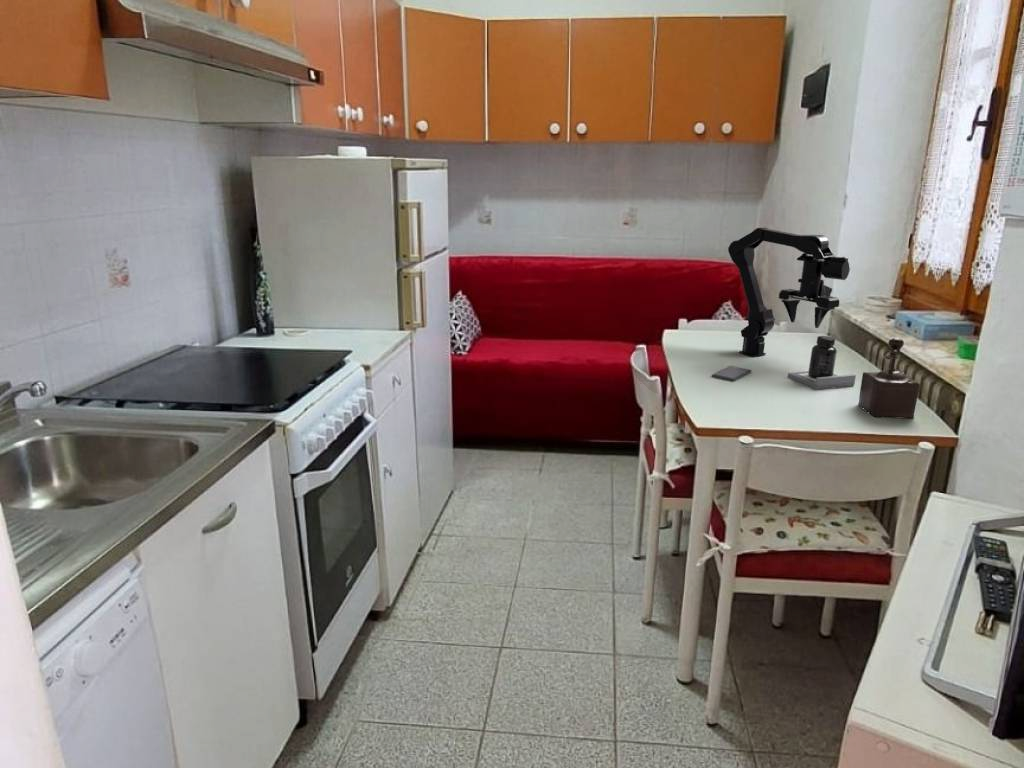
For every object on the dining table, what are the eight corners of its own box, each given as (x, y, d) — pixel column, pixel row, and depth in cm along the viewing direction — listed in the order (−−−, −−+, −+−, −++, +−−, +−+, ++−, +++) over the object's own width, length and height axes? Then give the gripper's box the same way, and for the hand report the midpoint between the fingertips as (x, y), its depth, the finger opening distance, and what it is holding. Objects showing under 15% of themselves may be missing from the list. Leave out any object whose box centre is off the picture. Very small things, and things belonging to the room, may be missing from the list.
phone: (711, 376, 213) (712, 374, 213) (730, 368, 223) (730, 365, 222) (733, 381, 209) (734, 378, 209) (751, 372, 218) (751, 369, 218)
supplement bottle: (837, 377, 210) (843, 338, 206) (824, 381, 206) (830, 341, 202) (816, 372, 215) (822, 334, 211) (803, 375, 211) (809, 336, 207)
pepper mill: (917, 419, 180) (930, 351, 175) (873, 417, 181) (885, 349, 175) (889, 399, 195) (901, 336, 190) (849, 398, 196) (859, 335, 190)
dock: (787, 376, 214) (789, 366, 214) (822, 373, 218) (824, 363, 217) (817, 389, 203) (819, 378, 202) (854, 385, 207) (855, 375, 206)
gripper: (854, 278, 216) (846, 328, 221) (804, 270, 232) (797, 317, 236) (830, 281, 211) (823, 332, 215) (780, 272, 226) (774, 320, 231)
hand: (804, 325), depth 225 cm, fingers open, 9 cm apart
